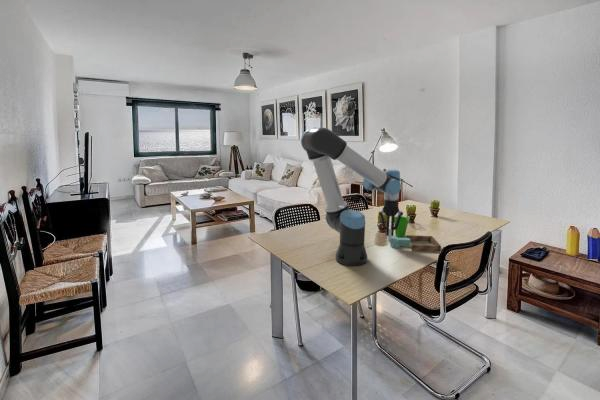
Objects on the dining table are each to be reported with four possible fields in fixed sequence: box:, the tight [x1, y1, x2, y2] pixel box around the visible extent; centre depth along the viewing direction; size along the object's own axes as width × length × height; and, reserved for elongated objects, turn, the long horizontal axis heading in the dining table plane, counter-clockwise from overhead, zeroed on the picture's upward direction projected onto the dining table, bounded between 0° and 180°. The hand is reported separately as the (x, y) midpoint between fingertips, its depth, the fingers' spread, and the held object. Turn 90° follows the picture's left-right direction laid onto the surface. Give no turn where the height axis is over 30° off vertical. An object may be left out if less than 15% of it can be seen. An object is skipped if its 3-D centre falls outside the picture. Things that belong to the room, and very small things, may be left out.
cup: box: [394, 215, 410, 238], centre depth 191 cm, size 9×9×11 cm
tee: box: [388, 235, 411, 249], centre depth 177 cm, size 10×10×4 cm
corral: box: [405, 234, 442, 253], centre depth 176 cm, size 14×16×3 cm
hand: (389, 241), depth 178 cm, fingers closed
